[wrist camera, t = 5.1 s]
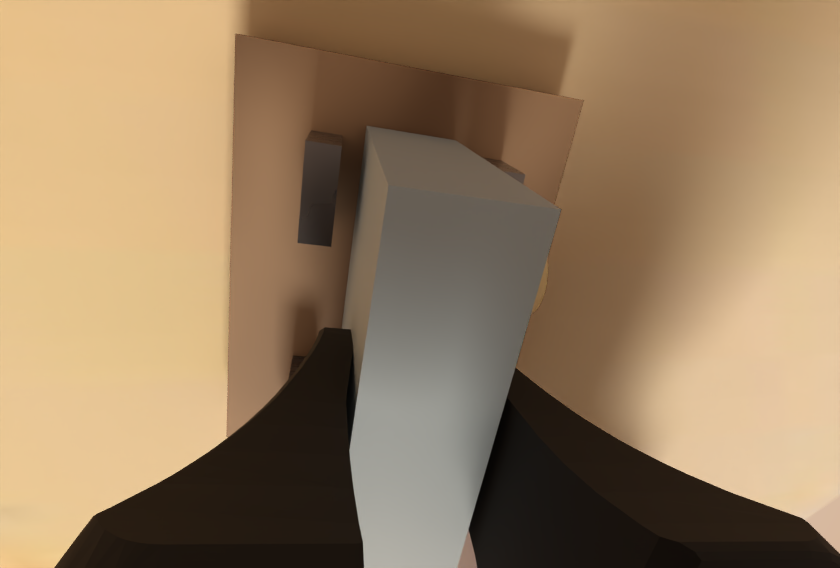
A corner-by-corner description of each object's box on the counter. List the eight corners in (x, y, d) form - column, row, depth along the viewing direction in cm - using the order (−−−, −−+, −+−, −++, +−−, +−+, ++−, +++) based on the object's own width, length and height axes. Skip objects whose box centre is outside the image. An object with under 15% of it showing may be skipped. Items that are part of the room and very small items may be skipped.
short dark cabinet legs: (501, 160, 13) (525, 174, 12) (440, 424, 17) (451, 466, 15) (310, 129, 12) (305, 140, 11) (287, 417, 16) (280, 462, 14)
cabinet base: (561, 97, 14) (583, 100, 13) (476, 419, 19) (485, 446, 18) (247, 37, 13) (235, 33, 11) (235, 407, 17) (226, 436, 16)
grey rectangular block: (484, 145, 13) (613, 217, 7) (421, 435, 17) (466, 655, 11) (366, 125, 12) (388, 185, 6) (328, 432, 16) (318, 663, 10)
